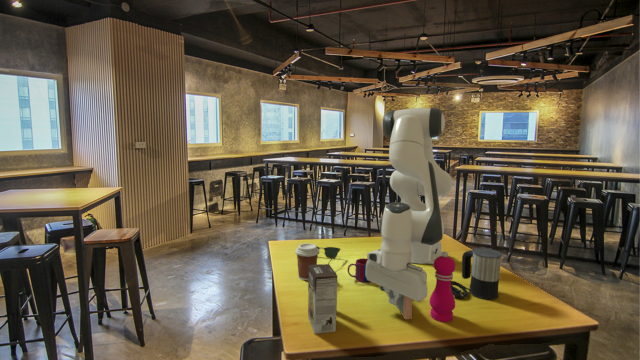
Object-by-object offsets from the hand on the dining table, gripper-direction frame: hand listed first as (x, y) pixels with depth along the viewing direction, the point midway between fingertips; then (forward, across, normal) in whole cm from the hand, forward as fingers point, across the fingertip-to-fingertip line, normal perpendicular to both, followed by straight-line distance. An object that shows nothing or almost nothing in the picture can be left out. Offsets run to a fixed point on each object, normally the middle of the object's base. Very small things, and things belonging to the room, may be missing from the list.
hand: (393, 303), depth 106 cm
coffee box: (+4, +10, +20) cm, 22 cm away
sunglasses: (+4, +48, -11) cm, 49 cm away
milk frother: (+4, -8, -32) cm, 34 cm away
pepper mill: (+4, -10, -10) cm, 15 cm away
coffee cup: (+4, +39, +2) cm, 39 cm away
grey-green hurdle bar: (+3, +4, -6) cm, 7 cm away
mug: (+4, +25, -12) cm, 28 cm away
